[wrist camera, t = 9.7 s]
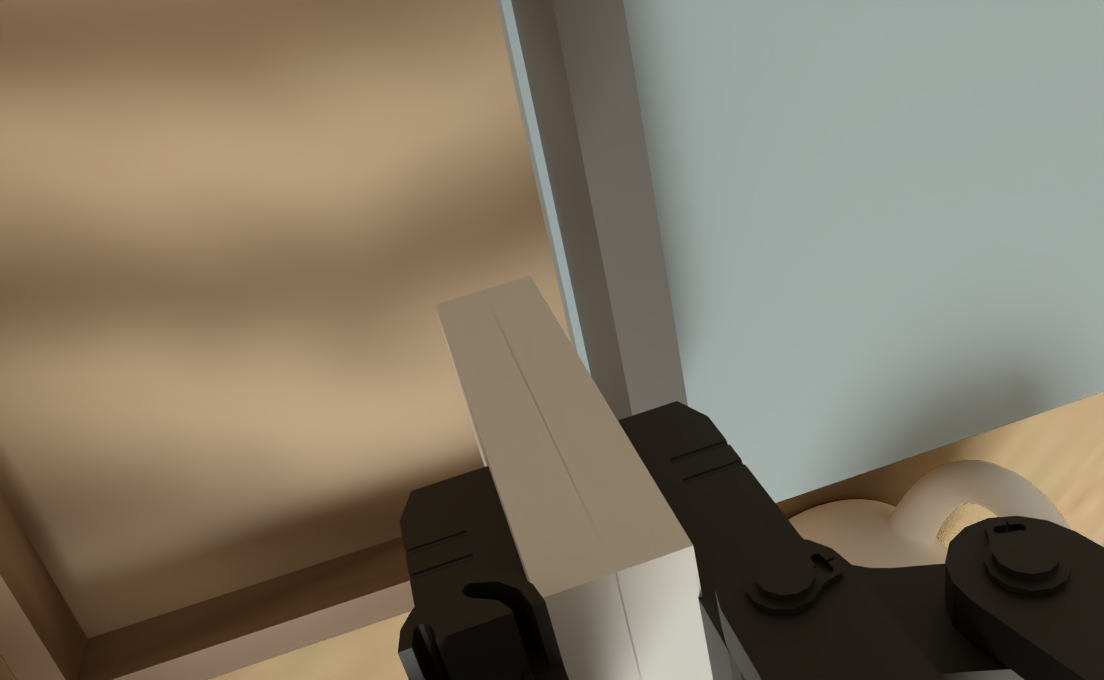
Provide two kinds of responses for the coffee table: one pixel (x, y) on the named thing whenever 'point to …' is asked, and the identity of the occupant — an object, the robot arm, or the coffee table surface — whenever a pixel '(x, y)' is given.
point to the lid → (823, 214)
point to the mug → (920, 515)
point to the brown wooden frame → (237, 314)
